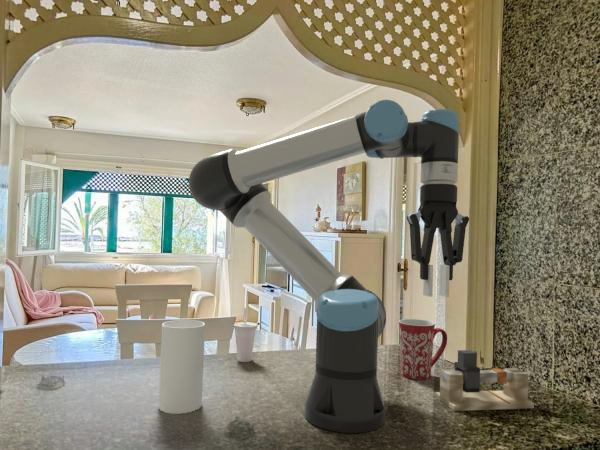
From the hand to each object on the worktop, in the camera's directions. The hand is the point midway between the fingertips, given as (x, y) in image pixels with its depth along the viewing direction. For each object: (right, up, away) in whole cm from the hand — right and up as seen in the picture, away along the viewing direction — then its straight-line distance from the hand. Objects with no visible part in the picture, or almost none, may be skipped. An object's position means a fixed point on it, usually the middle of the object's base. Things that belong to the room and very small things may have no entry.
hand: (435, 295), depth 94 cm
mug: (+2, -23, +19) cm, 30 cm away
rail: (+10, -23, +1) cm, 25 cm away
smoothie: (-44, -22, +27) cm, 56 cm away
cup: (-52, -21, -6) cm, 56 cm away
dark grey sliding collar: (+7, -20, +1) cm, 21 cm away
